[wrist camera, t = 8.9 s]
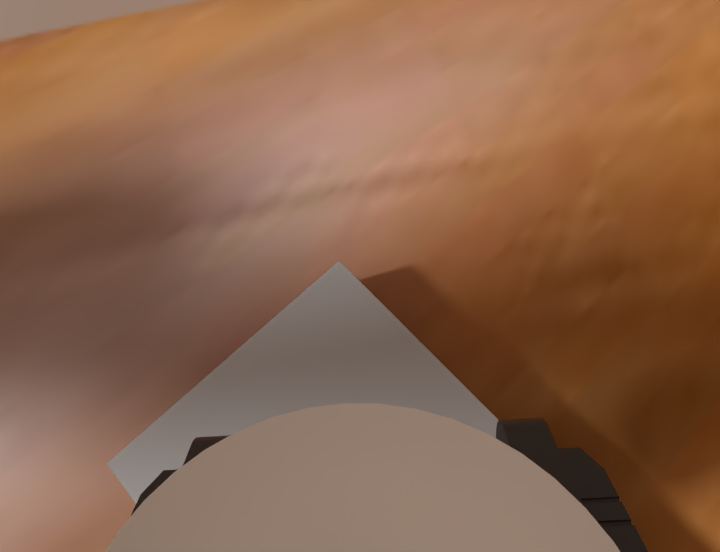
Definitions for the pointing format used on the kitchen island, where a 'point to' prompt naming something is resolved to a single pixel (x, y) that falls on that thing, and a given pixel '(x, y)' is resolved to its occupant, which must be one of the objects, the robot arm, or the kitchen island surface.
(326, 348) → the socket
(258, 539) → the plug
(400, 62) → the kitchen island surface
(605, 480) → the robot arm
